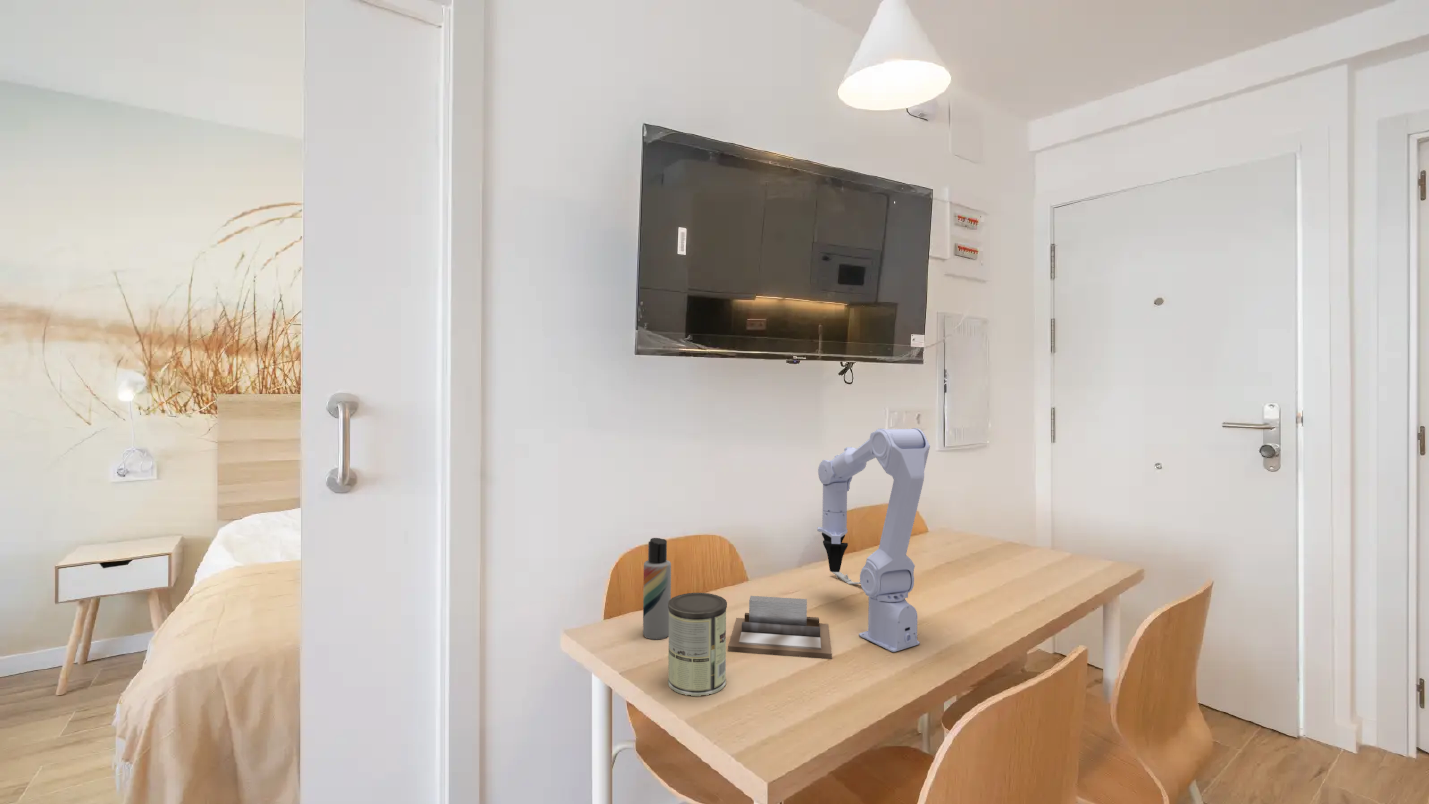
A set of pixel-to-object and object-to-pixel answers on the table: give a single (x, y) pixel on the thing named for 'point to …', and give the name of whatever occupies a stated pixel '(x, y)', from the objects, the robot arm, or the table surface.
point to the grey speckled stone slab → (778, 610)
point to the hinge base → (781, 638)
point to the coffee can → (697, 643)
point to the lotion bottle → (656, 590)
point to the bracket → (844, 578)
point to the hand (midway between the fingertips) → (833, 566)
